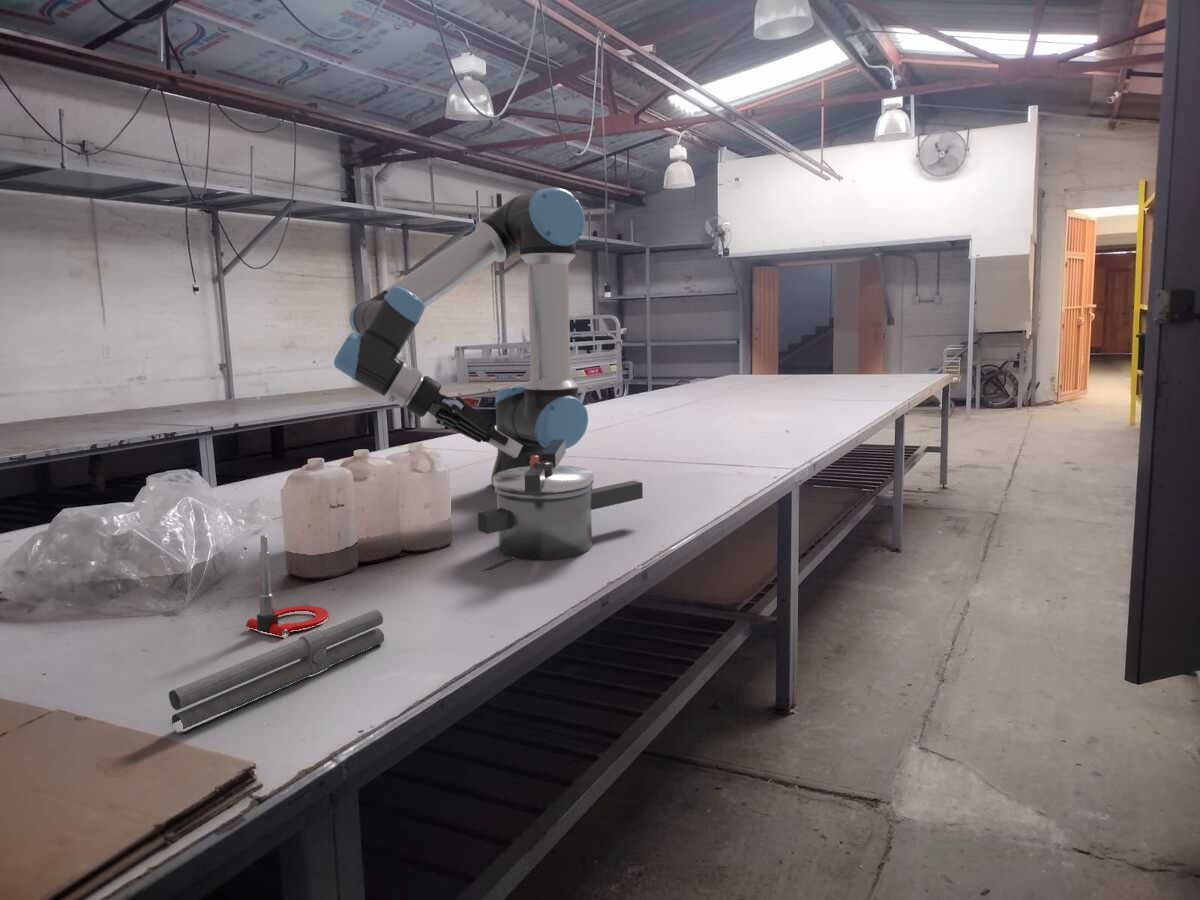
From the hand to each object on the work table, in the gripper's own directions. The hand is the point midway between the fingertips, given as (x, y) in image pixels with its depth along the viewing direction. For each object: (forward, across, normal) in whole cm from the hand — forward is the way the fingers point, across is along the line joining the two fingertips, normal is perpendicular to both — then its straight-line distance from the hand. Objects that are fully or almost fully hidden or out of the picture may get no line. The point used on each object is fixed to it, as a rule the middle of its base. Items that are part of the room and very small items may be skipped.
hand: (518, 451), depth 161 cm
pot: (+11, +18, -16) cm, 27 cm away
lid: (+2, +19, -8) cm, 20 cm away
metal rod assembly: (-22, +51, -55) cm, 78 cm away
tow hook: (-24, +33, -49) cm, 64 cm away
